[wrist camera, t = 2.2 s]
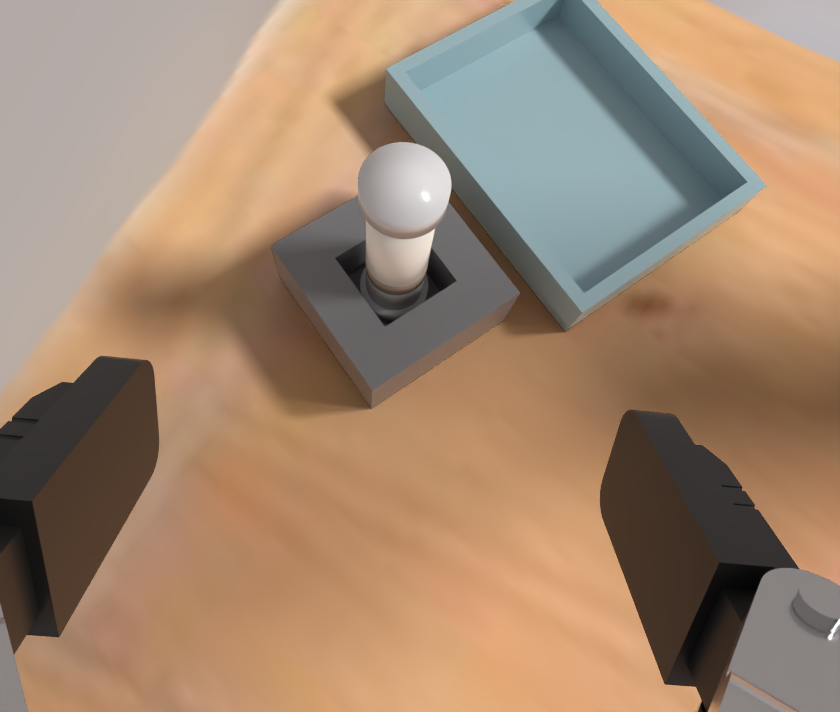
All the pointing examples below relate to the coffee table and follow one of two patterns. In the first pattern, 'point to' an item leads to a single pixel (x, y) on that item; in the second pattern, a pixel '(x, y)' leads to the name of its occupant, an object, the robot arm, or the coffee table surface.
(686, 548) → the robot arm
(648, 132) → the parts tray
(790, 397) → the coffee table surface
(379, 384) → the socket block
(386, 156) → the white light bulb
